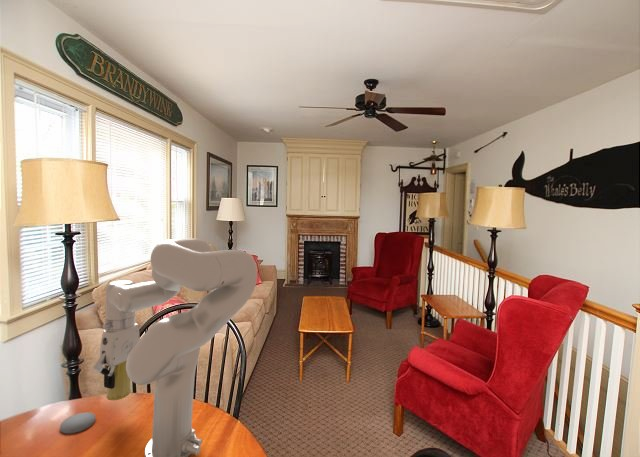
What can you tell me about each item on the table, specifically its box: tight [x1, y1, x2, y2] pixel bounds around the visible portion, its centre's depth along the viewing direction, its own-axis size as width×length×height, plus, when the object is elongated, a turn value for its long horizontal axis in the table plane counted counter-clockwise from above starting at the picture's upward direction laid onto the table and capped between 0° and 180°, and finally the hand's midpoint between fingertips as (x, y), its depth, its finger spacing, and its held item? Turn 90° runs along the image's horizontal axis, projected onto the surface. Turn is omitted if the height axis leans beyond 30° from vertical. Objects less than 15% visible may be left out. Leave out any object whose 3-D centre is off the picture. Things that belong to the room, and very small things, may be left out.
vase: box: [105, 360, 132, 401], centre depth 92 cm, size 6×6×14 cm
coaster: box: [59, 411, 96, 435], centre depth 89 cm, size 8×8×1 cm
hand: (119, 381), depth 92 cm, fingers closed on vase, 5 cm apart
